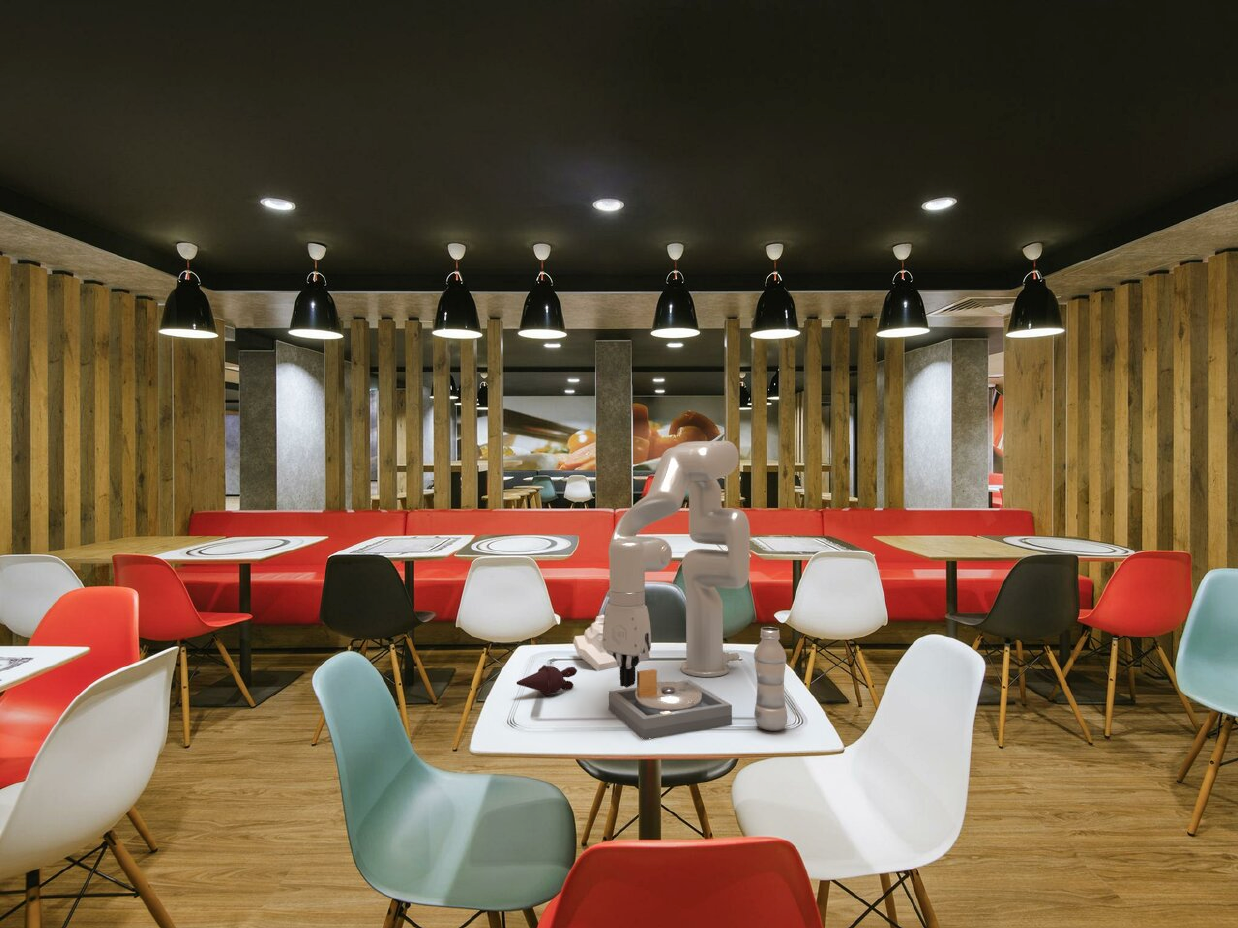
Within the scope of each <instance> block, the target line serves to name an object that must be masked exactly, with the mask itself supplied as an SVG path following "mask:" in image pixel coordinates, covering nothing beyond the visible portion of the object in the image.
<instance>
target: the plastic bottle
mask: <svg viewBox="0 0 1238 928" xmlns="http://www.w3.org/2000/svg"><path fill="white" fill-rule="evenodd" d="M760 639H761V641H760V642H759V643H758V645H757V646H756V648H755V649H754V653H753V658H754V665H755V671H756V673H755V674H756V681H757V682H756V687H757V688H756V699H755V700H756V701H755V702H756V703H755V706H754V720H755V724H756V725H757V726H758V728H760V729H762V730H766V731H771V732H773V731H775V732H779V731H782V730H785V728H786V726H787V724H788V720H789V718H788V710H787V706H786V698H785V697H786V696H785V671H786V663H787V654H786V651H785V649H784V647H783V646H782V644H781V643H780V642H779V640H780V639H781V636H780V629H779V628H778V627H771V626H764V627H761V628H760Z"/></svg>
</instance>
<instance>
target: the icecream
mask: <svg viewBox="0 0 1238 928" xmlns="http://www.w3.org/2000/svg"><path fill="white" fill-rule="evenodd" d="M577 672H578V669H576V667H575V666H568V667H566V668H564V669H562V670H560V669H559V668H558V667H556V666H553V665H546V664H544V665H542V666H541V667H540V668H538V670H537V671H536V672H535V673H532V674H530V675H528V676H525V677H524V678H522V679H519V680H517V681H516V685H518V686H521V687H525V688H529V689H532V690H534V691H537V692H540V694H541V695H543V696H545V698H546V697H548V695H552V694H555V693H556V694H557V693H558V692H559V691H560V690H564V691H569V690H572V689H573V688H574V683H573V682H572V681H569V680H566V679H565V678H567V679H568V678H572V677H573V676H575V675H576V674H577Z"/></svg>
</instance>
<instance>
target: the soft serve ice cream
mask: <svg viewBox="0 0 1238 928" xmlns="http://www.w3.org/2000/svg"><path fill="white" fill-rule="evenodd" d="M604 615H605V614H600V615H596V617H595V620H594V621H593V622H592V623H591V624H590V626H589V627H587V629H585V631H584V635H575V636H573V637H574V638H573V642H572V643H573V646H574V648H575V649H574V650H575V651H576V654H577V655H578V656H579V657H580V658H581V659H582V660H584V661H585V663H587V664H588V665H590V666H591V667H592V669H593V668H594V670H596V671H604V670H608V669H609V670H610V669H612V668H617V667H618V665H617V661H616V660H615V658H614V657H613V656H611V655H609V654H607V653H606V650H605V649H604V648H603V644H602V637H603V622H604ZM618 668H619V667H618Z"/></svg>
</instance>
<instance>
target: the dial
mask: <svg viewBox="0 0 1238 928" xmlns="http://www.w3.org/2000/svg"><path fill="white" fill-rule="evenodd" d="M657 672H658V670H656V669H655V668H653V669H652V668H651V669H645V670H637V671H636V688H637V689H636V691H635V707H636V708H638V709H639V710H640V711H642V712H643V713H644V714H646V715H655V714H660V712H664V711H670V712H673V711H680V710H686V709H692V708H698V707H702V692H701V690H700V689H699V688H697V687H695V686H693V685H690V684H686V683H680V682H679V681H658V679H657V678H658V674H657Z"/></svg>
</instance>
